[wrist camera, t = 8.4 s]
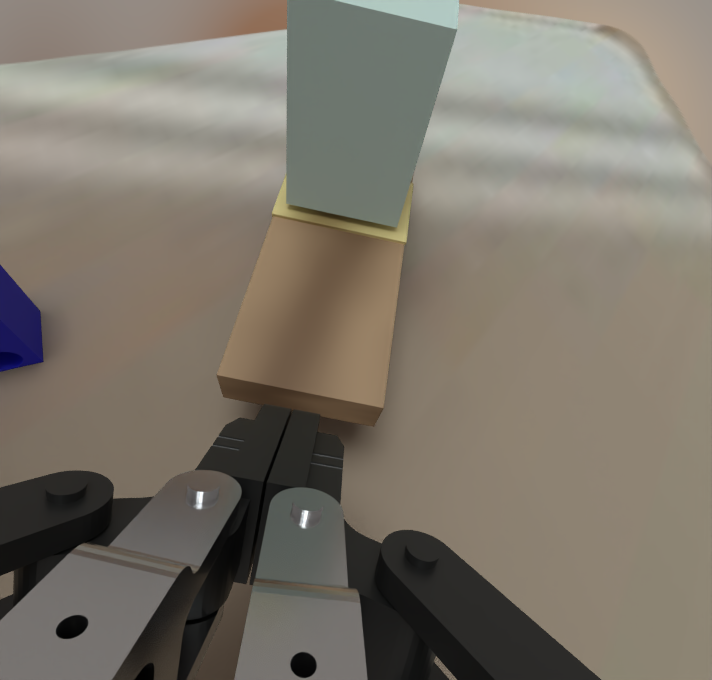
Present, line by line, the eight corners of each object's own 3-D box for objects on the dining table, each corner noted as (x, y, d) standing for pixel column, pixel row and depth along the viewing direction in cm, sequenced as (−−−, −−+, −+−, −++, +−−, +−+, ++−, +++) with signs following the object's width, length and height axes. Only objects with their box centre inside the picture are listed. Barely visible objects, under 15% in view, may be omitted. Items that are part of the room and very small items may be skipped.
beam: (232, 430, 21) (210, 358, 14) (316, 160, 31) (324, 51, 25) (360, 454, 21) (391, 395, 15) (401, 179, 31) (429, 76, 25)
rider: (286, 203, 19) (287, -65, 12) (309, 135, 22) (323, -122, 14) (396, 227, 20) (472, -21, 12) (407, 157, 22) (474, -85, 14)
